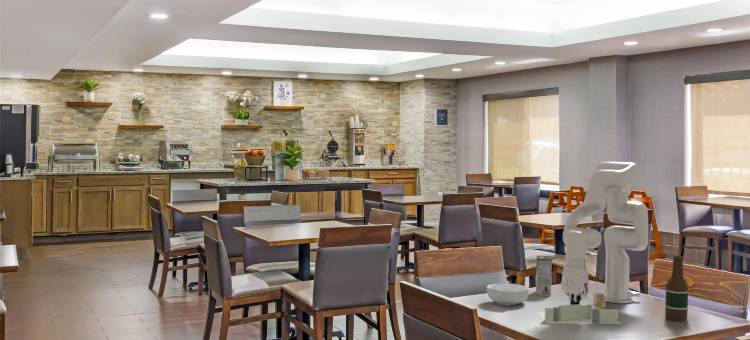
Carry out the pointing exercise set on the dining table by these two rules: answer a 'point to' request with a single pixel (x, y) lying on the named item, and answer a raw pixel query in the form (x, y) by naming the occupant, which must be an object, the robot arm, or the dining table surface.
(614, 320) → the gate frame
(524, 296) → the cereal bowl
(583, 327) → the dining table surface
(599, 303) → the roller
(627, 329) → the dining table surface
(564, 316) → the gate
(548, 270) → the coffee box
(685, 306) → the beer bottle
